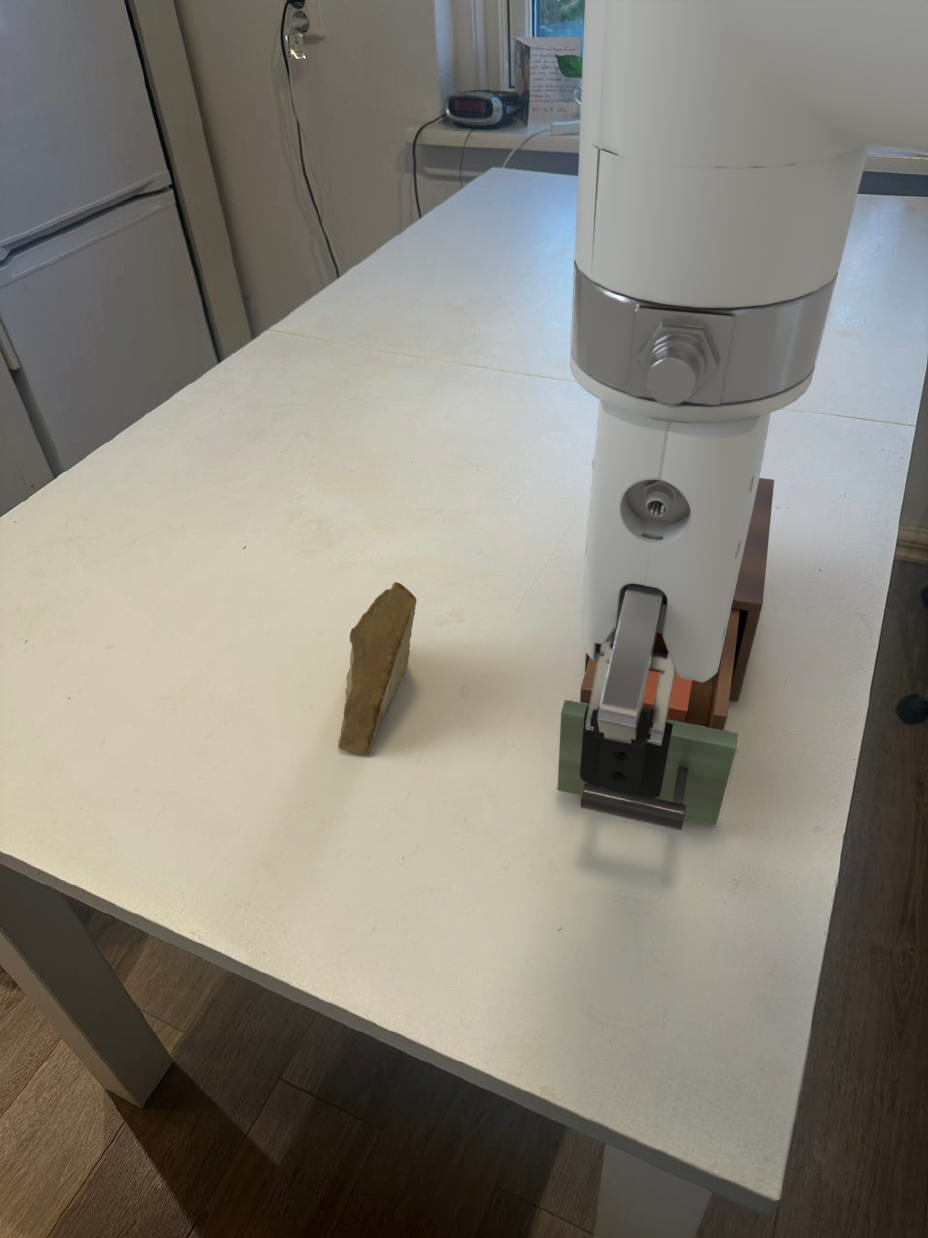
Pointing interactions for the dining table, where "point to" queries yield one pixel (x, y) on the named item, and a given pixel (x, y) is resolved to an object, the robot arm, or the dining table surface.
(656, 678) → the block
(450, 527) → the dining table surface
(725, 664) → the drawer
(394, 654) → the rock
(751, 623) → the cabinet
